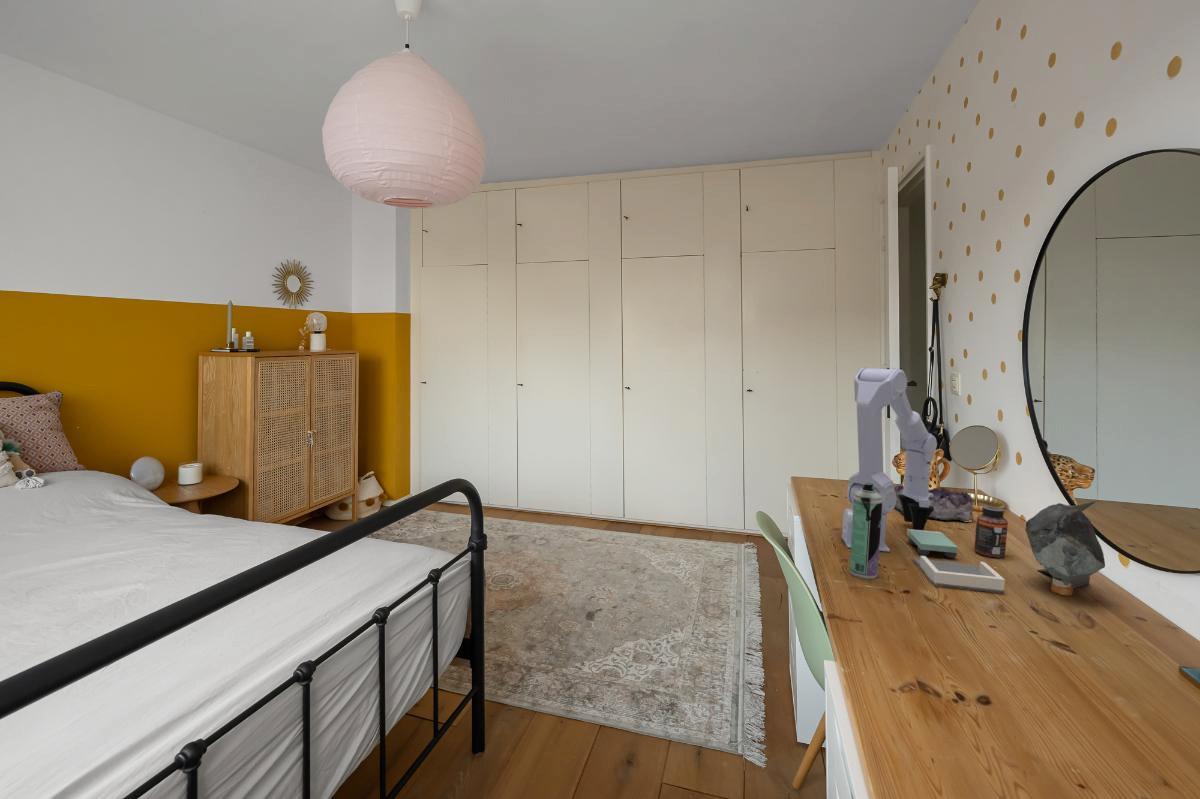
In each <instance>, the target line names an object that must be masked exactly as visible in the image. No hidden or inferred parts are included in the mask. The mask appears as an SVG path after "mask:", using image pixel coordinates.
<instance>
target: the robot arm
mask: <svg viewBox="0 0 1200 799" xmlns="http://www.w3.org/2000/svg"><path fill="white" fill-rule="evenodd" d="M853 383H854V384H853V385H854V401H855V402H856V421H857V425H856V426H857V440H858V441H857V444H858V445H857V446H858V447H857V448H858V471H857V472H855V473H853V474H852V475H851V476H850V477H849V478H848V488H847V490H846V496H847V500H848V502H849V503H850V504H851V508H847V507H846V508H844V510H843V519H842V535H841V538H842V540H843V542H844V544H845V546H846V547H847V548H848V549H851V537H852V520H853V503H854V496H855V492H858V491H860V490H861V488H863V487H864V484H867V483H871V484H873V488H874V489H875V490H876V492H877V493H878V494H879V495H881V496H882V515H881V530H880V546H879V552H889V553H890V551H891V549H890V548H889V547H888V545H887V544H886V531H887V530H886V528H887V514H889V513H891V512H892V511H893V510H894V509H895V504H896V499H897V498H896V493H895V491H894V488H895V487H894V482H893V480H892V479H891V477H889V476H888V475H887V474H886V473H885V472H884V453H883V420H882V419H883V418H882V417H883V416H882V410H883V409H884V407H888V406H890V408H892V411H893V413H895V414H896V417H895V420H894V422H895V424H896V427H897V428H898V431H899V432H900V434H901V435H900V438H901V449H903V451H905V464H904V465H905V466H904V478H903V485H902V486H903V493H902V494H903V495H898V498H899V500H900V502H901V505H902V510H903V513H902V515H903V520H904V522H907V523H911V526H912V529H913V530H924V531H925V528H926V523H927V522H928V520H929V518H928V517H929V516H930V514H931V513H932V512H933V511H934V508H933V507H932V506H929V500H928V499H929V497H933V494H932V493H928V492H929V490H930V488H929V487H930V478H931V476H930V475H931V465H932V464H931V462H933V460H934V455H935V452H936V450H937V446H938V442H937V438H936V437H935V435H933V434H932V433H929V432H928V430H927V428H926V426H925V424H924V422H923V420H922V418H921V414H919V413H918V412H917V411H913V410H912V408H911V407H912V406H911V404H910V402H909V399H908V395H907V393H906V391H907V386H908V379H907V375H906V373H905V371H904V370H903V369H901V368H895V369H894V368H893V369H892V368H891V369H890V368H869V367H862V368H861V369H860V370H859V371H858V372H857V374H856V376H855V377H854V379H853Z"/></svg>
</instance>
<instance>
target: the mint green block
mask: <svg viewBox="0 0 1200 799" xmlns="http://www.w3.org/2000/svg"><path fill="white" fill-rule="evenodd" d="M906 535H907V536H908V539H907V540H908V542H909V543H910V544H911V545H913V546H917V552H918V554H919V555H920V556H926V557H927V556H928V555H929V554H930V551H932V552H941V553H944V556H945V557H947V558H948V559H955V558H956V556H957V554H958V551H959V547H958V545H956V544H955V543H954V542H953V541H952V540H951V539H949V538H948V537H947V536H946V535H945V534H944V533H943V532H942V531H937V530H936V531H933V530H925V529H924V530H913V528H911V529H910V528H907V529H906Z"/></svg>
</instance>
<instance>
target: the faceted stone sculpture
mask: <svg viewBox="0 0 1200 799" xmlns="http://www.w3.org/2000/svg"><path fill="white" fill-rule="evenodd" d="M1097 502H1098V500H1094V501H1090V502H1086V503H1081V504H1078V505H1077V504H1076V505H1071V504H1070V505H1069V504H1068V505H1067V504H1064V503H1061V502H1060V503H1056V504H1051V505H1048V506H1047V507H1045V508H1043V509H1041V510H1040V511H1039V512H1038V513H1036V514H1035V515H1034V516H1033V517H1031V518H1030V519H1027V521H1025V529H1024V530H1025V532H1026V534H1027V538H1028V542H1029V545H1030V548H1031V550H1032V554H1033V556H1034V557H1035V560H1036V562H1038V563H1039V564H1040V565H1041V566H1043V567H1044V568H1042V569H1037V570H1036V571H1037V572H1040V573H1043V574H1045V575H1049V576H1051V577H1052V581H1051V587H1050V590H1051V591H1052V593H1055V594H1058V595H1061V596H1067V597H1072V596H1074V589H1076V588H1080V587H1083V586H1087V585H1090V581H1091V576H1093V575H1094V574H1097V573H1098V572H1099V571H1101V570H1102V569H1104V568H1105V567H1106V563H1105V562H1106V561H1105V554H1104V550H1103V549H1102V546H1101V544H1100V542H1099V539H1098V536H1097V535H1096V532H1095V531H1096V530H1095V529H1094V527H1093V525H1092V522H1091V519H1089V517H1088V516H1087V515H1086V514H1085V513H1084V511H1085V510H1087V509H1088V508H1089V507H1091V506H1092V505H1094V504H1095V503H1097Z"/></svg>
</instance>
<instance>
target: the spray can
mask: <svg viewBox="0 0 1200 799" xmlns="http://www.w3.org/2000/svg"><path fill="white" fill-rule="evenodd" d="M881 515H882V496H881V495H879V494H878V493H877V492H876V490H875V489H874V488H873V484H871V483H867V484H864V487H863V488H861V490H860V491H858V492H855V496H854V503H853V520H852V537H851V548H850V553H849V554H850V555H849V556H850V558H849V573H850V574H851V575H852V576H855V577H857V578H860V579H864V580H875V579H877V578H878V574H879V573H878V572H879V560H880V558H879V557H880V551H879V546H880V530H881Z"/></svg>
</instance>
